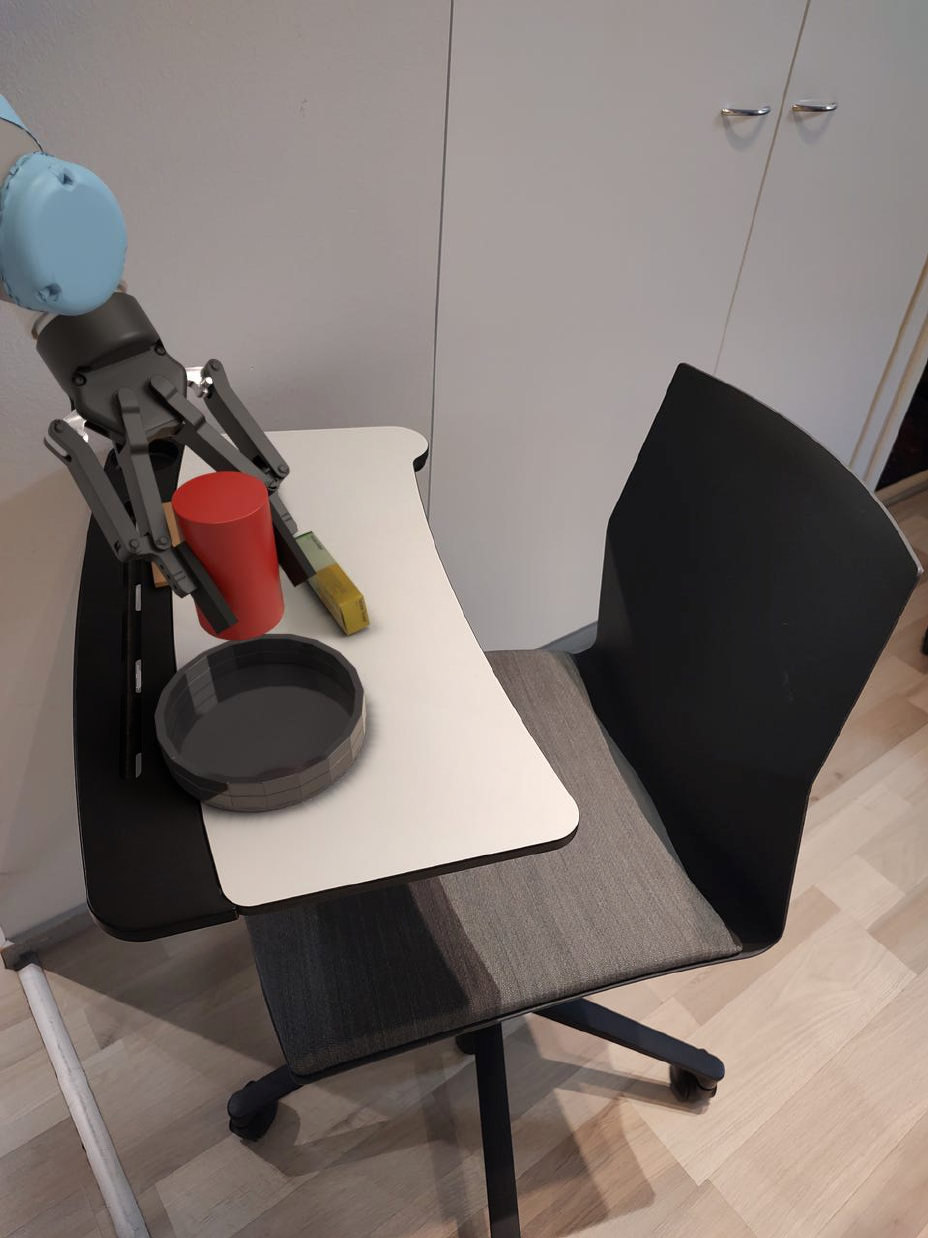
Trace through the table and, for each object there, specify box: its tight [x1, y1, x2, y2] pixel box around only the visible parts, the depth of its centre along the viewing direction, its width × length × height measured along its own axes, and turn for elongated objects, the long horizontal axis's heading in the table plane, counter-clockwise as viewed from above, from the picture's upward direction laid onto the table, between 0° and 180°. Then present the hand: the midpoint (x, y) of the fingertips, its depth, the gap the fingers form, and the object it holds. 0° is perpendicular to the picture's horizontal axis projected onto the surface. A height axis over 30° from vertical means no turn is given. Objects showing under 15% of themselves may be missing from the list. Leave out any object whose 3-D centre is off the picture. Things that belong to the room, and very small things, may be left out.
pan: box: [154, 633, 367, 813], centre depth 72 cm, size 16×16×4 cm
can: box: [170, 471, 285, 641], centre depth 63 cm, size 6×6×10 cm
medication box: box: [294, 530, 371, 636], centre depth 85 cm, size 12×3×4 cm, turn 31°
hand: (267, 603), depth 63 cm, fingers closed on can, 6 cm apart
